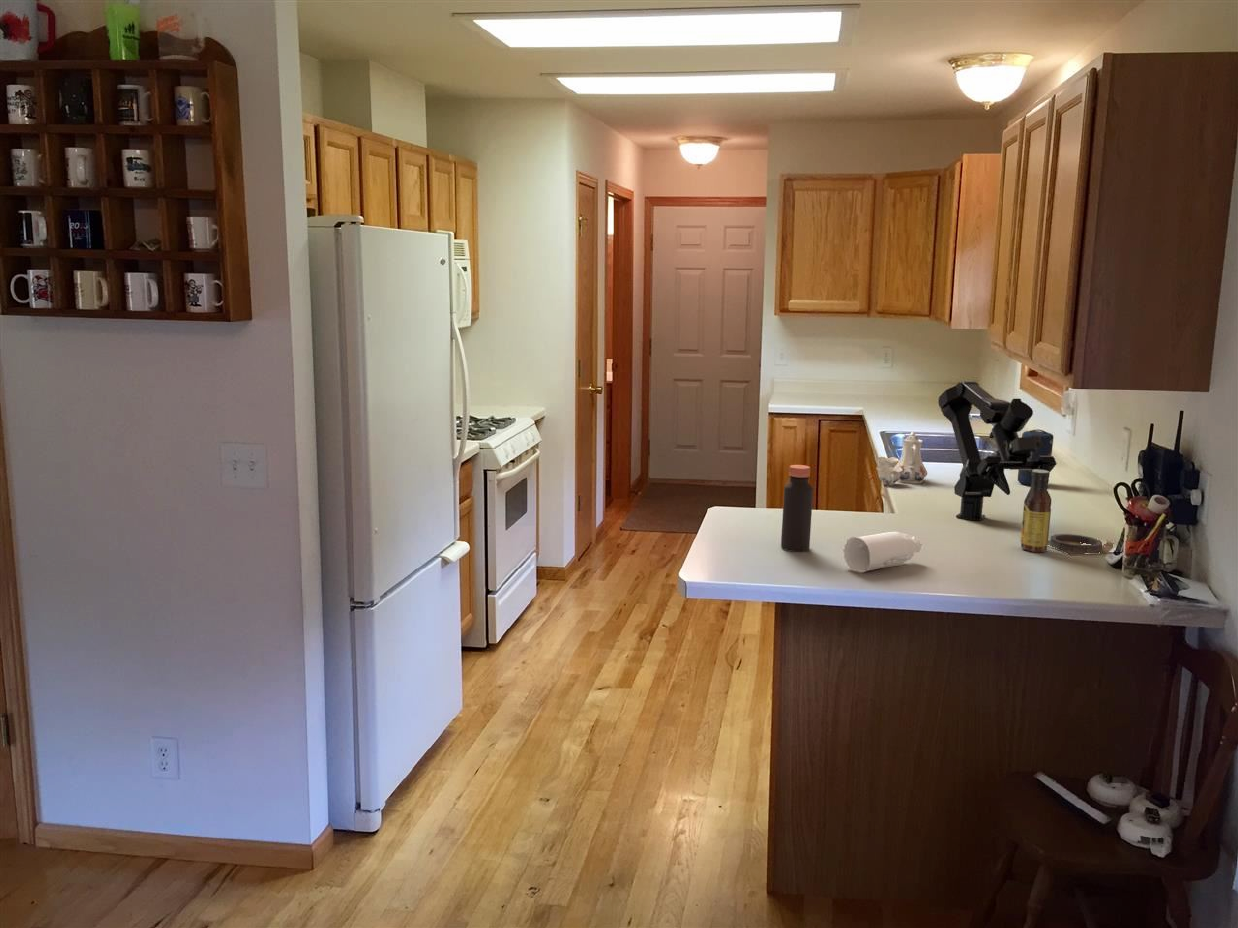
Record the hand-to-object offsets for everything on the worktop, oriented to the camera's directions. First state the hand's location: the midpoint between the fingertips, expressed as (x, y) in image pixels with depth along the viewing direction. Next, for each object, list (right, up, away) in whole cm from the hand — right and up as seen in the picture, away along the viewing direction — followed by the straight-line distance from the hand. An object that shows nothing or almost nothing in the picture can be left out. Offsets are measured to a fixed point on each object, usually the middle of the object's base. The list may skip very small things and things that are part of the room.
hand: (1026, 494), depth 259 cm
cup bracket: (+15, -13, +1) cm, 20 cm away
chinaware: (-10, +2, +79) cm, 80 cm away
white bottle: (-41, -16, -21) cm, 49 cm away
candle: (+32, +1, +78) cm, 84 cm away
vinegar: (-59, -13, -7) cm, 61 cm away
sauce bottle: (0, -14, -3) cm, 14 cm away
